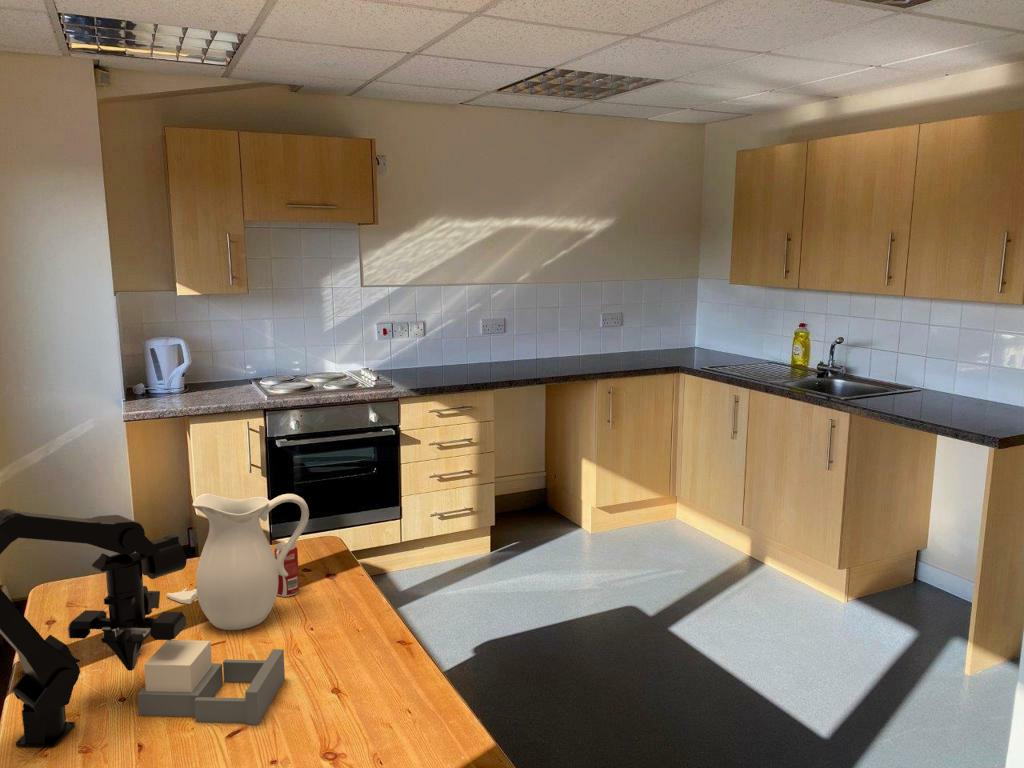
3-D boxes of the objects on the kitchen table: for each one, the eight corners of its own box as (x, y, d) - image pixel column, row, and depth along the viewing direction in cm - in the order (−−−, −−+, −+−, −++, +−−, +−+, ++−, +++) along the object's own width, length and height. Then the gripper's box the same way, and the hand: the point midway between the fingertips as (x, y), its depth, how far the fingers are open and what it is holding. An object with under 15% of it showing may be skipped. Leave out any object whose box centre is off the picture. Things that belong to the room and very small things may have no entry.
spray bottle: (277, 574, 204) (192, 611, 184) (248, 565, 210) (162, 600, 189) (276, 563, 203) (191, 599, 183) (247, 554, 209) (161, 588, 189)
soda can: (274, 590, 193) (272, 542, 191) (296, 587, 195) (295, 539, 193) (278, 599, 188) (276, 549, 187) (300, 595, 191) (299, 546, 189)
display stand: (258, 724, 139) (256, 692, 138) (133, 722, 139) (131, 689, 138) (284, 679, 154) (283, 649, 153) (172, 676, 154) (170, 647, 153)
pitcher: (194, 641, 168) (186, 511, 163) (202, 607, 184) (195, 488, 180) (313, 628, 174) (309, 503, 170) (311, 596, 190) (307, 481, 186)
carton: (191, 692, 142) (190, 665, 141) (146, 691, 142) (144, 664, 141) (211, 666, 150) (210, 640, 150) (168, 665, 151) (167, 639, 150)
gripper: (196, 570, 151) (201, 648, 154) (97, 568, 152) (103, 646, 154) (170, 595, 140) (175, 679, 143) (63, 593, 141) (70, 677, 143)
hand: (131, 669), depth 146 cm, fingers closed
